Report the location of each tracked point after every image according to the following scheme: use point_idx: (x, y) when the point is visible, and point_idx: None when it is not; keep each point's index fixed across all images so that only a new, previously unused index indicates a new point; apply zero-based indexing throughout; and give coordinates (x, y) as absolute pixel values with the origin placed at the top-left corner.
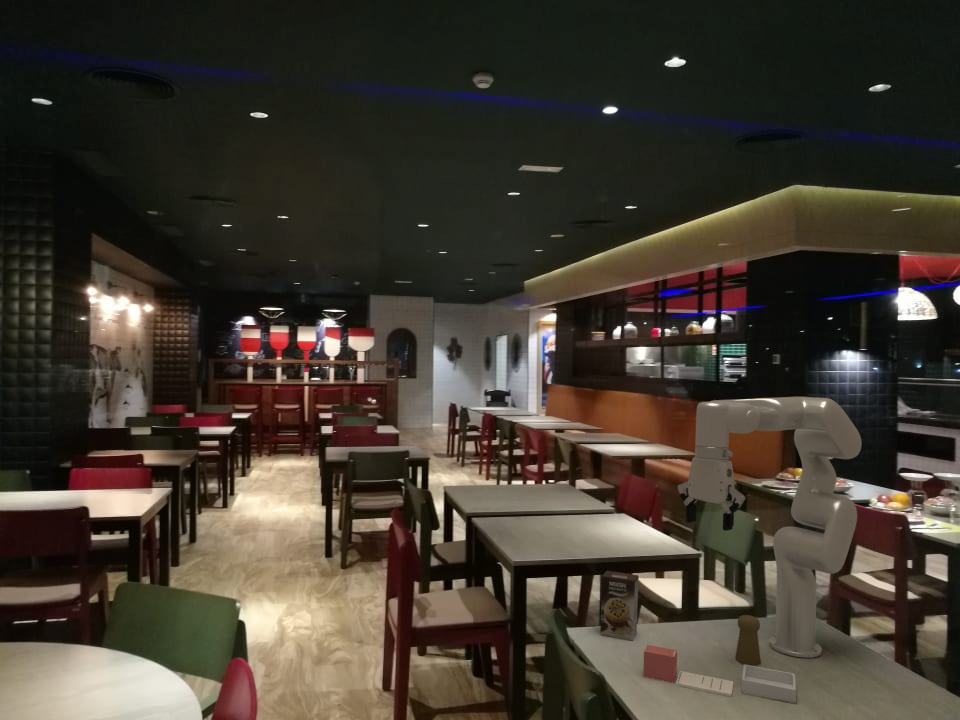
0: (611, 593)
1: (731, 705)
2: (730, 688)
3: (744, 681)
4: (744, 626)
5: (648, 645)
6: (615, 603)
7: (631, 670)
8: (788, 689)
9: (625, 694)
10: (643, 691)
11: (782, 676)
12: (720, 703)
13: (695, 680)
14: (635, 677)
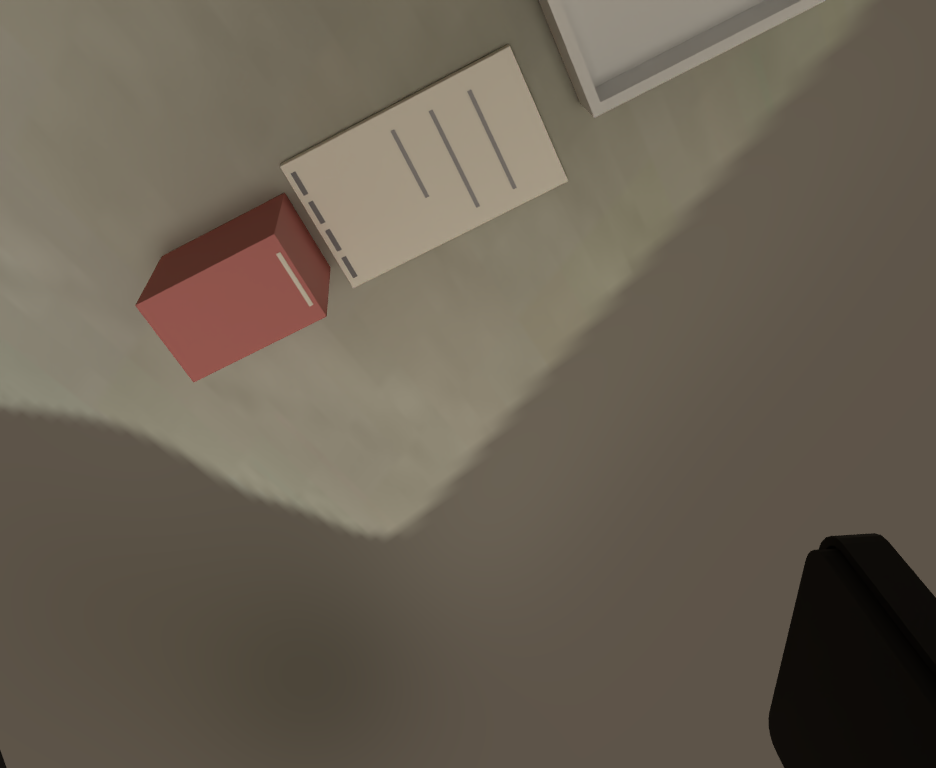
0: None
1: (599, 243)
2: (538, 133)
3: (603, 111)
4: None
5: (147, 308)
6: None
7: (135, 321)
8: (793, 15)
9: (289, 490)
10: (310, 423)
11: None
12: (561, 265)
13: (390, 196)
14: None
